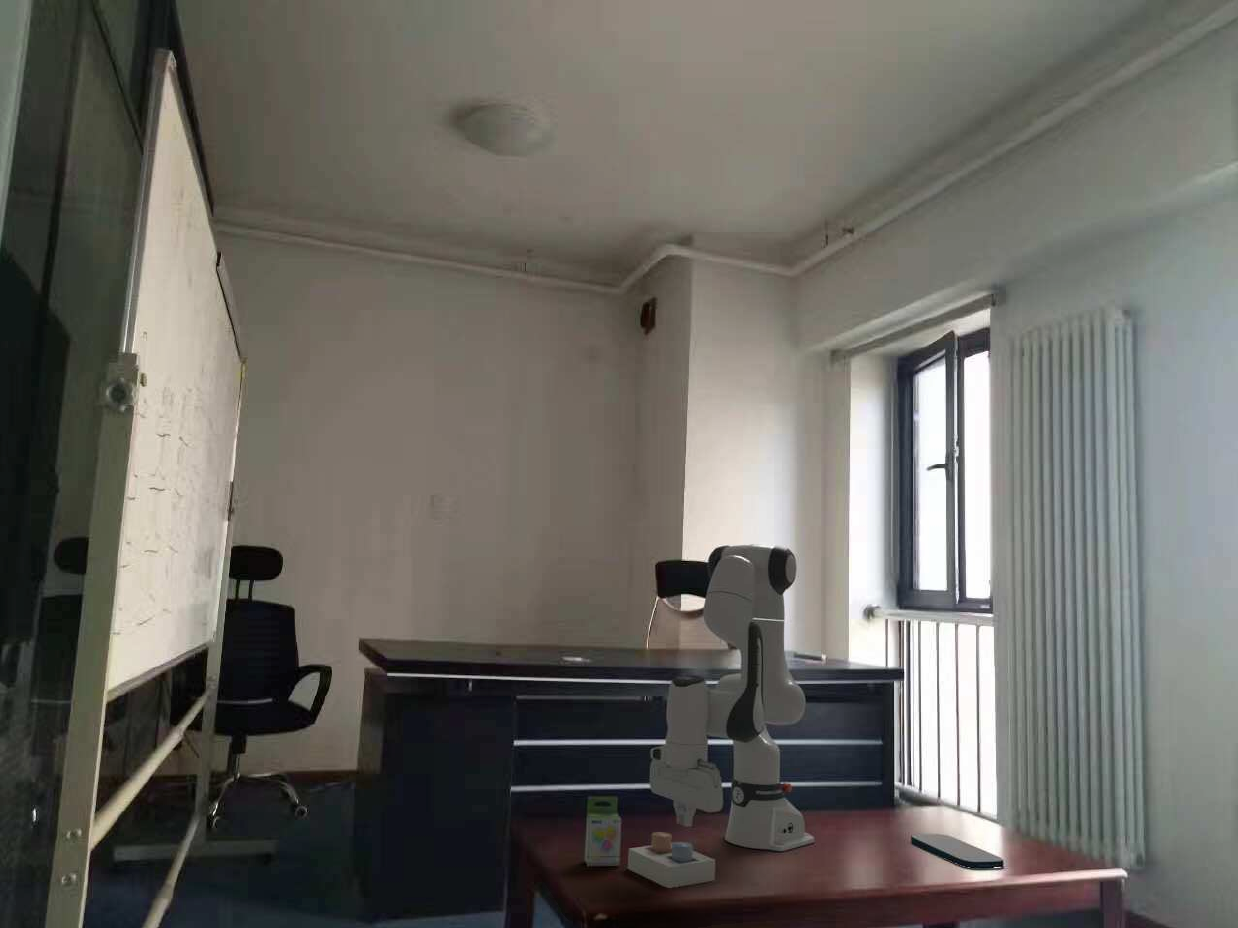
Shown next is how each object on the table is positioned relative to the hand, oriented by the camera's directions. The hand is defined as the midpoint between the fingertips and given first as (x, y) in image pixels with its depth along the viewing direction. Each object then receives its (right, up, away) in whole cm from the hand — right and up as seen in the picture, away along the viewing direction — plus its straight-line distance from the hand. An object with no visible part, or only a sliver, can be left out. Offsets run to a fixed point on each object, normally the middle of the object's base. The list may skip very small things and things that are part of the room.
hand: (684, 824), depth 183 cm
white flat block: (-3, -11, +1) cm, 11 cm away
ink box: (-17, -11, +6) cm, 21 cm away
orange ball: (-5, -8, +4) cm, 10 cm away
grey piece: (-1, -8, -2) cm, 8 cm away
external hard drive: (+67, -19, +29) cm, 76 cm away
